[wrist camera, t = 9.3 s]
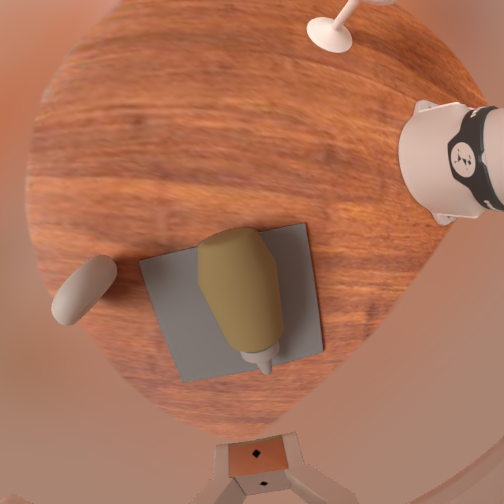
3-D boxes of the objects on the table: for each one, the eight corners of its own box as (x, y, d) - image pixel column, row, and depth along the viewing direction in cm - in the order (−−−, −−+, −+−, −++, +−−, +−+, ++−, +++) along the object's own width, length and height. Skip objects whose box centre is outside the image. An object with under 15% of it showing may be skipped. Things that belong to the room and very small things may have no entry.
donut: (114, 241, 30) (73, 260, 20) (133, 261, 31) (98, 288, 21) (75, 292, 31) (34, 322, 21) (91, 310, 31) (56, 345, 22)
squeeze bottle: (279, 218, 27) (307, 353, 33) (215, 226, 31) (253, 347, 37) (241, 248, 21) (284, 400, 26) (169, 254, 25) (224, 387, 30)
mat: (303, 222, 31) (304, 223, 31) (322, 350, 35) (323, 352, 35) (139, 260, 31) (138, 261, 30) (183, 380, 35) (183, 382, 34)
